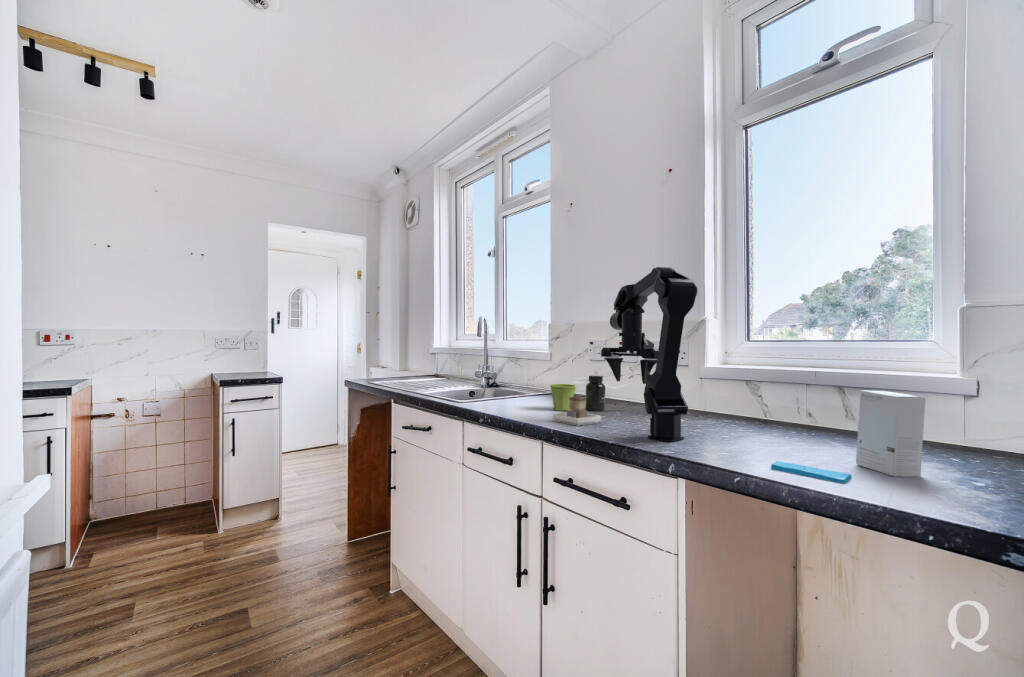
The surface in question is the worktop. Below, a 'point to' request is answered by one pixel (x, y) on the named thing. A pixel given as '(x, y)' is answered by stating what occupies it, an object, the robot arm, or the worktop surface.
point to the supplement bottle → (595, 394)
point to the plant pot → (562, 396)
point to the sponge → (812, 472)
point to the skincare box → (890, 432)
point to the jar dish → (571, 418)
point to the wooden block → (577, 406)
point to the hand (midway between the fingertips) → (631, 382)
